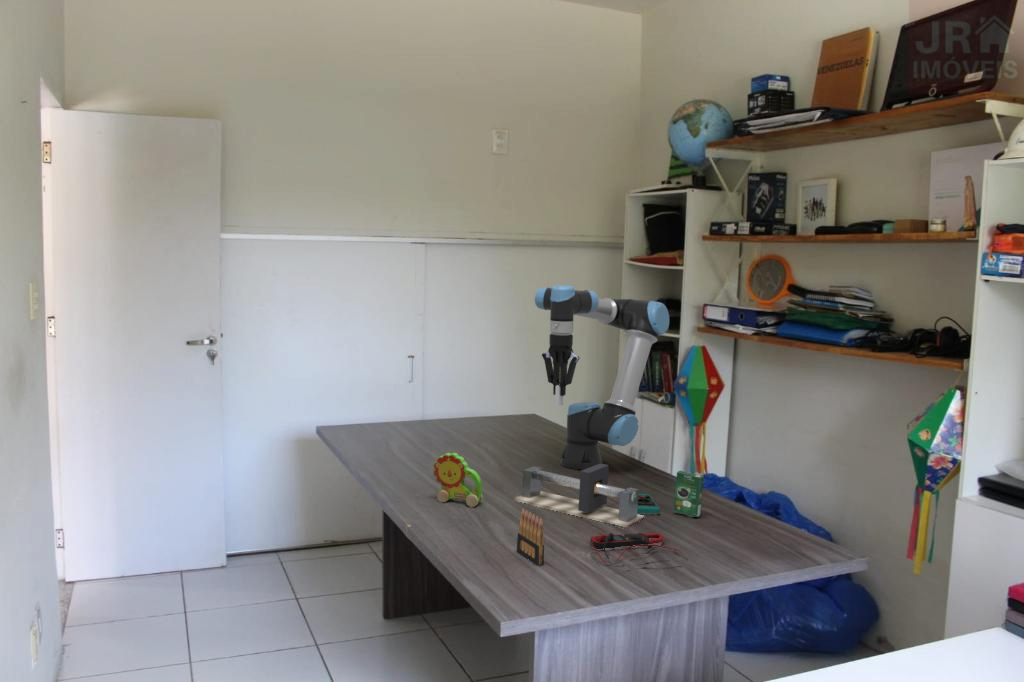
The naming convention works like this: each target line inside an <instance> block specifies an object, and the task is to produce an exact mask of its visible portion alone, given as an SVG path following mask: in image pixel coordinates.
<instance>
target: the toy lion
mask: <svg viewBox="0 0 1024 682" xmlns="http://www.w3.org/2000/svg"><path fill="white" fill-rule="evenodd" d="M432 474H433V477H435V481H436V482H437V483H438V484H440V485H441V486H440V487H441V490H439V491H438V492H437V495H436V498H437V500H438V501H439V502H440V503H443V502H444V503H446V502H448V500H451V499H456V498H457V499H458V498H459V499H463V500H465V504H466V505H467V506H468V507H470V508H475V507H476V506H477V505H479V504H480V503H482V501H483V500H484V496H483V493H482V491H483V485H482V483H483V482H482V479H481V476H480V475H479V473H478V472H477V471H475V470H474V469H472V468H470V467H469V464H468V462H467V461H466V460H465V458H464V457H463V456H460V455H459V453H456V452H453V453H450V452H447V453H445V454H443V455H441V456H438V457H437V459H436V461H434V463H433V470H432ZM466 477H468V478H471V479H472V480H473V483H474V490H473V489H472V488H471V487H470V486H468V485H467V484H466V483H465V479H466Z"/></svg>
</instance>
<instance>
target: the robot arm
mask: <svg viewBox="0 0 1024 682" xmlns="http://www.w3.org/2000/svg"><path fill="white" fill-rule="evenodd" d="M534 303H535V306H536V307H537V309H541V310H545V311H550V318H549V332H550V334H549V348H548V350H547V351H546V352H543V353H542V354H541V357H542V359H543V361H544V365H545V366H544V367H545V372H546V377H547V382H548V383H549V384H552V385H553V386H552V387H553V390H552V393H553V394H552V395H553V396H554V406H556V407H561V406H563V405H564V396H566V392H567V391H566V390H567V389H566V387H567V386H568V385H571V384H572V382H573V378H574V374H575V371H576V367H577V363H578V361H579V360H580V356H579V355H575V354H574V350H573V344H574V343H573V341H574V336H573V333H574V316H578V317H584V318H587V319H593V320H597V321H598V322H599V323H601V324H603V325H608V326H611V327H614V328H617V329H620V330H624V331H626V332H625V333H626V335H627V336H628V339H627V342H626V346H625V349H624V352H623V356H622V359H621V363H620V364H619V365H620V366H619V369H618V371H617V372H618V373H617V374H616V378H615V382H614V385H613V388H612V392H611V395H610V399H608V400H606V401H605V402H604V403H603V407H602V406H601V404H600V403H599V402H593V401H590V402H589V401H588V402H584V401H583V402H576V403H571V404H570V405H568V409H567V415H566V419H567V420H566V426H567V427H566V441H565V446H564V448H563V451H562V452H561V453H562V454H561V456H560V465H561V466H562V467H564V468H568V469H571V468H572V469H573V470H578V469H580V470H579V471H582V470H584V469H587V468H590V467H592V466H595V465H597V464H600V463H601V464H603V459H602V455H601V451H600V447H599V442H601V443H605V444H610V445H612V446H620V447H624V446H627V445H629V444H630V443H632V442H633V441H634V439H635V437H636V436H637V433H638V431H639V420H638V418H637V416H636V413H637V412H636V410H635V407H634V404H635V403H636V399H637V394H638V391H639V388H640V385H641V381H642V378H643V374H644V371H645V368H646V365H647V361H648V358H649V355H650V353H651V352H650V351H651V348H652V346H653V344H655V343H656V342H658V340H659V336H662V335H664V334H666V333H667V332H668V330H669V328H670V327H669V326H670V314H669V311H668V308H667V306H666V305H665V304H664V303H662V302H660V301H655V300H642V299H632V298H610V297H609V298H608V297H605V298H602V299H601V298H599V297H598V294H597V293H596V292H595V291H592V290H588V289H587V290H586V289H584V290H578V289H577V290H576V289H575V287H574V286H572V285H554V286H552V287H540V288H538V289H537V290H536V292H535V296H534ZM601 407H602V408H601Z"/></svg>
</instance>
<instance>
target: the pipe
mask: <svg viewBox="0 0 1024 682" xmlns="http://www.w3.org/2000/svg"><path fill="white" fill-rule="evenodd" d="M542 482H546V483H550V484H555V485H559V486H563V487H568V488H572V489H576V490H579V489H580V478H575V477H571V476H567V475H561V474H558V473H554V472H548V471H545V470H542V467H538V466H530V467H528V468H525V469H523V470H522V488H521V491H522V492H521V495H522V496H523V497H527V498H532V497H534V496H537V495H539V494H540V491H542V490H541V489H542V486H541V485H542ZM639 491H640V489H639V488H633V487H628V488H621V487H616V486H612V485H609V484H608V485H603V484H600V483H599V482H595V483H594V494H602V495H606V496H607V497H611V498H616V499H618V500H619V505H618V509H619V519H618V520H620V521H625V522H629V521H631V520H633V519H635V518H637V508H638V494H639Z"/></svg>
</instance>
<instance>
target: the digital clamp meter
mask: <svg viewBox="0 0 1024 682" xmlns="http://www.w3.org/2000/svg"><path fill="white" fill-rule="evenodd" d="M649 538H657V539H651V540H649ZM663 539H664V540H665V538H664V535H663V534H662V533H659V532H657V533H655V532H654V533H641V532H639V533H625V534H623V533H620V534H614V533H612V532H610V533H609V534H607V535H606V534H605V533H601V534H600V535H592V536H591V537H590V544H589V545H591V546H592V547H593V548H594V549H593V548H592V549H593V550H594V551H595V553H596V554H597V555H598V556H597V557H599V559H600V560H601V561H602V562H603V563H604V564H605V563H607V562H606V561H605V560H604V559H603V558H602V556H601V555H600V554H599V551H596V549H603V548H604V554H605V556H606V558H607V559H610V558H609V556H608V553H607V552H606V551H605V548H615V547H621V546H630V547H628V548H631V547H635V546H658V545H648V544H653V543H659V542H662V541H663V542H664V540H663ZM641 544H643V545H641ZM633 545H635V546H633ZM591 546H590V547H591ZM658 547H662V549H666V548H667V547H668V546H663V545H662V546H658ZM595 548H596V549H595ZM628 548H626V549H623V551H622V552H621V554H620V555H619V556H618V557H617V559H618V560H619V559H620V558H621V557H622V556H623V555H624V553H625V552H626V550H629V549H628ZM655 548H656V547H653V549H654V550H656V549H655ZM653 549H650V550H649V551H647V552H645V553H644V554H646V555H648V554H649V553H651V552H653V551H654V550H653ZM672 549H674V550H675V551H677V550H678V551H677V552H679V551H681V550H680V549H676V548H671V547H669V548H667V550H672ZM674 550H673V551H674ZM650 551H651V552H650Z"/></svg>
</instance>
